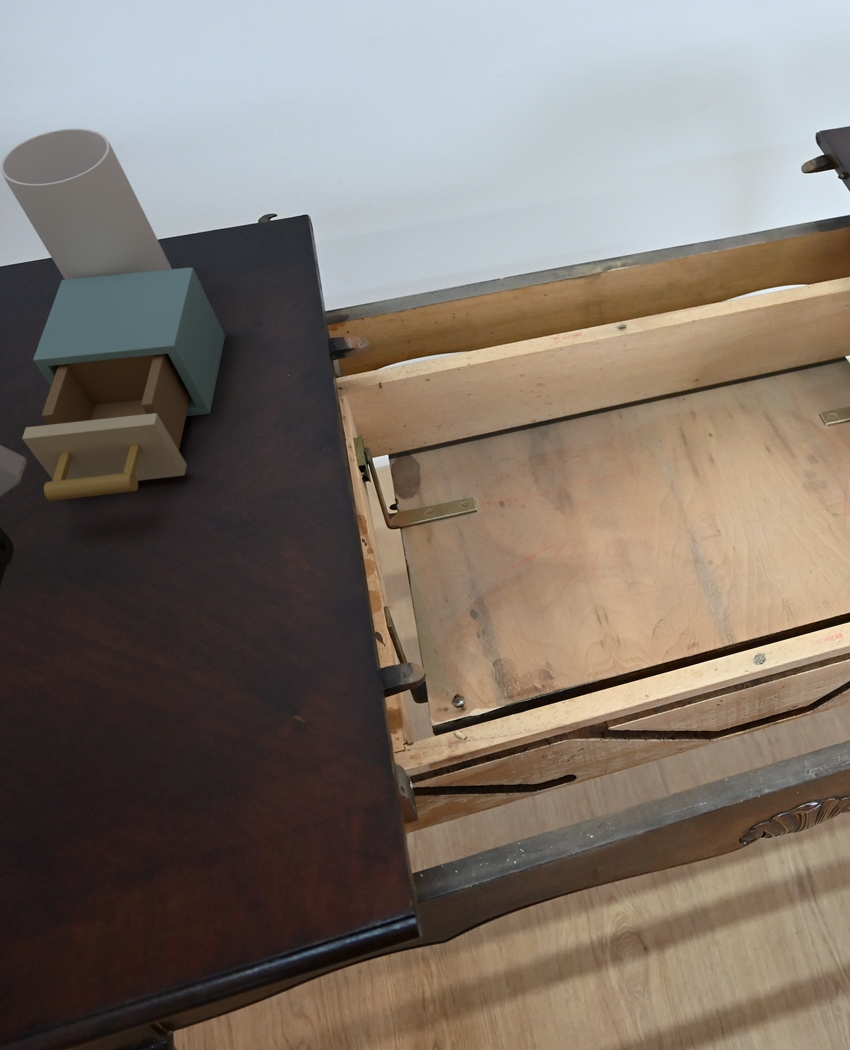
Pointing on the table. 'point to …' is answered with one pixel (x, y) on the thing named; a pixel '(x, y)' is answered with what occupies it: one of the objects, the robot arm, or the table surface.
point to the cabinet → (137, 327)
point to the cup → (82, 205)
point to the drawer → (111, 426)
